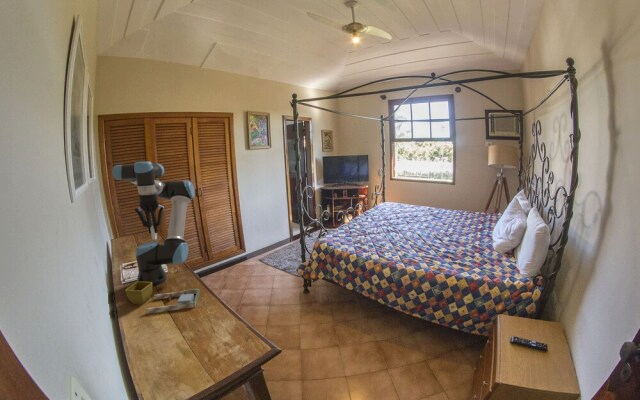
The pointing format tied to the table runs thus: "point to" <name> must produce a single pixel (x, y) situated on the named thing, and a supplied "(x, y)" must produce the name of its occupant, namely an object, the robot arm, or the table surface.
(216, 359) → the table surface
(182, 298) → the slate block
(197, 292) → the wooden wall shelf
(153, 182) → the robot arm
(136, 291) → the flower pot
